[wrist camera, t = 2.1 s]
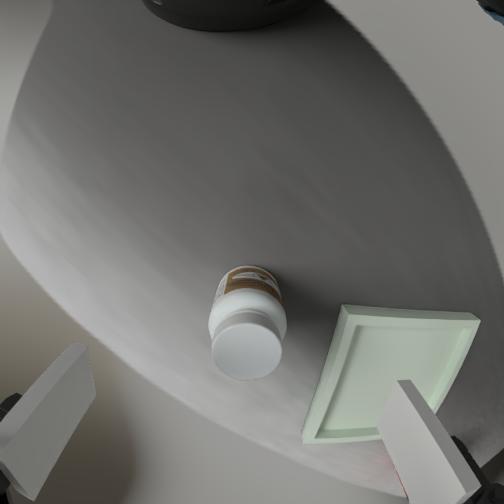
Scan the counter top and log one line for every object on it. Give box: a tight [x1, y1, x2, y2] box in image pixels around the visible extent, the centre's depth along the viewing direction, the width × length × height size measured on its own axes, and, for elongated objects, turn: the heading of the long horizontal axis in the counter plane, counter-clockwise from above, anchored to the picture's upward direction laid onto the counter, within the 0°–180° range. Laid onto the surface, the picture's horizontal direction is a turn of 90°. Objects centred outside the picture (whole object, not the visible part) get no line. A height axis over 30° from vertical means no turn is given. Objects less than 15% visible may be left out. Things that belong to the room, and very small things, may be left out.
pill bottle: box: [209, 266, 287, 380], centre depth 17 cm, size 4×4×8 cm
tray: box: [301, 304, 481, 444], centre depth 22 cm, size 14×14×2 cm
